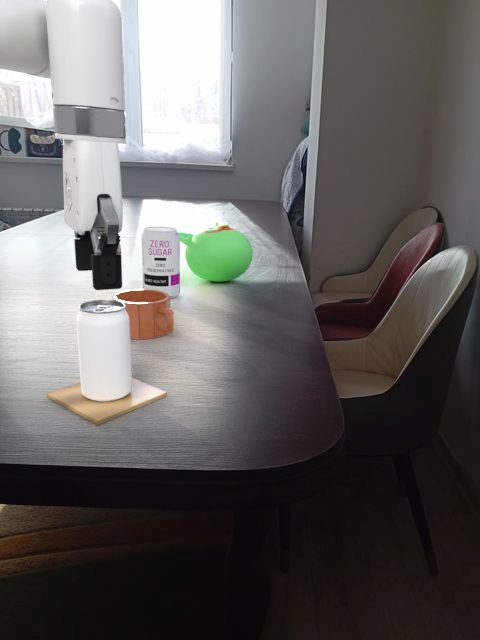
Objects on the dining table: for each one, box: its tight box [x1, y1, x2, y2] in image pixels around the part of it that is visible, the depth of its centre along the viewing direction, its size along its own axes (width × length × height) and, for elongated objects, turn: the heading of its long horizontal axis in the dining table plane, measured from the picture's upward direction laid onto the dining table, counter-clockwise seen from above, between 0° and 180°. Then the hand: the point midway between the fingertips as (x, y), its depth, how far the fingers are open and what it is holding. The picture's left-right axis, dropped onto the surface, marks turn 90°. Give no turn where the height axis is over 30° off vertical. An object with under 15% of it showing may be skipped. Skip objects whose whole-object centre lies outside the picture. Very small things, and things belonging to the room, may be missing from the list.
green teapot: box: [177, 221, 254, 283], centre depth 132 cm, size 18×17×15 cm
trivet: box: [46, 376, 168, 426], centre depth 68 cm, size 11×11×1 cm
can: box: [75, 299, 133, 402], centre depth 66 cm, size 6×6×12 cm
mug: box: [111, 288, 175, 340], centre depth 92 cm, size 13×10×6 cm
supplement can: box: [140, 226, 181, 300], centre depth 115 cm, size 8×8×15 cm
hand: (98, 278), depth 63 cm, fingers open, 9 cm apart
